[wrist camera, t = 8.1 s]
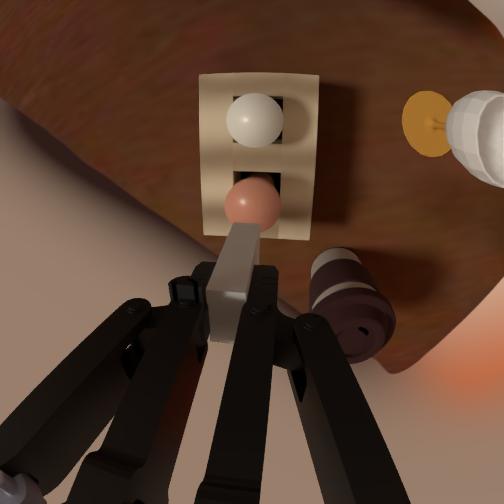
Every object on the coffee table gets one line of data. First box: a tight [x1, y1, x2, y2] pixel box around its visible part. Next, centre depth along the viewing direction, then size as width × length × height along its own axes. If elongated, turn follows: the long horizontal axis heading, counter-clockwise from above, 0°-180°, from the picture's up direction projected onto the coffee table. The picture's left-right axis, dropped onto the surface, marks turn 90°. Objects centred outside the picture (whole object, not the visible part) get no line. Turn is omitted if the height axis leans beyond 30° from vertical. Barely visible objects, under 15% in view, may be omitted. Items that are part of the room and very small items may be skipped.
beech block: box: [199, 73, 319, 240], centre depth 32 cm, size 18×12×6 cm, turn 179°
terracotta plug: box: [225, 172, 281, 233], centre depth 31 cm, size 5×5×8 cm
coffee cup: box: [309, 248, 396, 364], centre depth 34 cm, size 10×10×15 cm
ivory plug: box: [226, 93, 284, 148], centre depth 28 cm, size 5×5×8 cm
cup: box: [402, 91, 504, 188], centre depth 23 cm, size 9×9×16 cm
